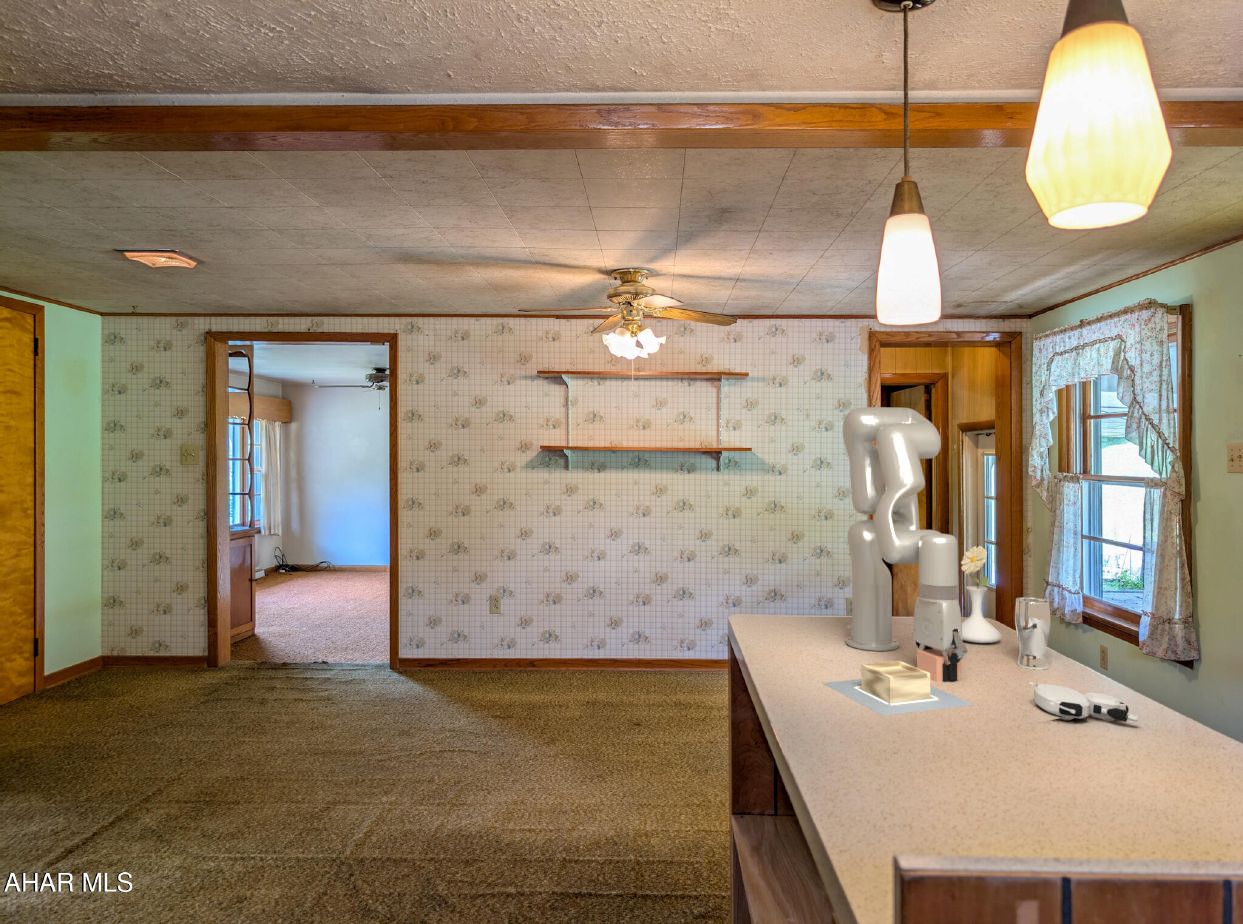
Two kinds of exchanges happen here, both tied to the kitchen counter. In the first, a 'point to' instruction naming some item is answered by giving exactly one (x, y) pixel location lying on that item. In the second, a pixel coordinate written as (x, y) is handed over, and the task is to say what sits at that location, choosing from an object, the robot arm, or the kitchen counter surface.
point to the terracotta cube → (934, 663)
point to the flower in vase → (977, 601)
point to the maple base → (895, 681)
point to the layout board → (884, 708)
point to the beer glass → (1032, 631)
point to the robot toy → (1080, 704)
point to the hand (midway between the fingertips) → (938, 676)
